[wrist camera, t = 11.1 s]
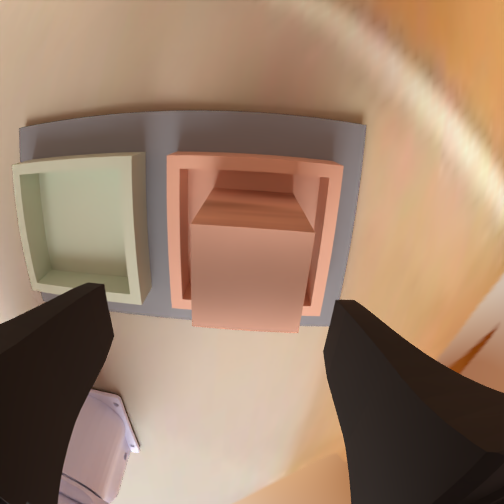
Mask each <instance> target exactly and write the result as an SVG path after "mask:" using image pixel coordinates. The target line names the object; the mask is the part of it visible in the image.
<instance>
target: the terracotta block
mask: <svg viewBox="0 0 504 504" xmlns="http://www.w3.org/2000/svg"><path fill="white" fill-rule="evenodd" d="M314 237H315V232H314V230H313V228H312V226H311V224H310V222H309V221H308V219H307V217H306V215H305V214H304V212H303V210H302V208H301V206H300V205H299V203H298V201H297V199H296V198H295V196H294V194H293V193H281V192H269V191H256V190H242V189H226V188H213V189H212V191H211V192H210V194H209V196H208V197H207V199H206V200H205V202H204V203H203V205H202V207H201V208H200V210H199V211H198V213H197V215H196V216H195V218H194V219H193V221H192V223H191V306H192V326H196V327H207V328H219V329H232V330H247V331H264V332H285V333H298V331H299V326H300V321H301V315H302V310H303V304H304V299H305V293H306V287H307V281H308V275H309V269H310V263H311V257H312V250H313V244H314Z"/></svg>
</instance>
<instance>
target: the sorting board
mask: <svg viewBox="0 0 504 504" xmlns="http://www.w3.org/2000/svg"><path fill="white" fill-rule="evenodd" d="M365 134H366V125H362V124H356V123H350V122H343V121H336V120H329V119H322V118H314V117H305V116H296V115H285V114H274V113H260V112H242V111H204V110H190V111H153V112H135V113H121V114H110V115H100V116H91V117H83V118H75V119H68V120H61V121H55V122H49V123H43V124H38V125H32V126H27V127H22V128H19V140H20V163H17V164H14V165H12V174H13V186H14V196H15V204H16V212H17V219H18V225H19V231H20V237H21V242H22V248H23V253H24V257H25V262H26V266H27V271H28V275H29V279H30V283H31V287H32V290H33V291H39V292H41V295H42V298H43V301H46V302H47V301H49V300H51V299H53V298H55V297H57V296H59V295H61V294H63V293H65V292H67V291H69V290H71V289H73V288H75V287H77V286H80V285H82V284H85V283H88V282H90V283H99V284H104V285H105V291H106V297H107V303H108V308H109V311H112V312H120V313H128V314H137V315H146V316H155V317H165V318H175V319H186V320H192V306H191V223H192V221H193V219H194V218H195V216H196V215H197V213H198V211H199V210H200V208H201V207H202V205H203V203H204V202H205V200H206V199H207V197H208V196H209V194H210V192H211V191H212V189H213V188H226V189H242V190H256V191H269V192H281V193H293V194H294V196H295V198H296V199H297V201H298V203H299V205H300V206H301V208H302V210H303V212H304V214H305V215H306V217H307V219H308V221H309V222H310V224H311V226H312V228H313V230H314V232H315V237H314V244H313V250H312V257H311V263H310V269H309V275H308V281H307V287H306V293H305V299H304V304H303V310H302V315H301V321H300V326H330V322H331V318H332V313H333V309H334V304H335V300H339V299H340V294H341V290H342V285H343V280H344V275H345V270H346V265H347V260H348V255H349V249H350V244H351V238H352V232H353V226H354V220H355V214H356V207H357V200H358V193H359V186H360V179H361V171H362V162H363V153H364V144H365Z"/></svg>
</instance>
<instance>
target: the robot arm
mask: <svg viewBox="0 0 504 504" xmlns="http://www.w3.org/2000/svg"><path fill="white" fill-rule="evenodd" d="M113 338H114V333H113V328H112V323H111V318H110V313H109V308H108V303H107V297H106V291H105V285H104V284H99V283H90V282H88V283H85V284H82V285H80V286H77V287H75V288H73V289H71V290H69V291H67V292H65V293H63V294H61V295H59V296H57V297H55V298H53V299H51V300H49V301H47V302H45V303H44V304H42V305H40V306H38V307H36V308H34V309H32V310H30V311H28V312H25V313H23V314H21V315H19V316H17V317H15V318H13V319H11V320H9V321H7V322H4V323H2V324H0V504H109V503H111V502H112V501H113V500H114V499H115V498H116V497H117V495H118V493H119V490H120V486H121V482H122V479H123V475H124V472H125V469H126V465H127V462H128V458H129V455H130V452H135V453H139V452H140V448H139V445H138V443H137V440H136V438H135V435H134V433H133V430H132V427H131V425H130V422H129V419H128V417H127V414H126V411H125V408H124V405H123V403H122V400H121V398H120V397H119V396H118V395H115V394H111V393H106V392H101V391H97V390H93V389H91V388H92V386H93V384H94V382H95V380H96V378H97V376H98V374H99V372H100V370H101V369H102V367H103V365H104V362H105V360H106V358H107V355H108V352H109V350H110V347H111V344H112V341H113ZM323 353H324V360H325V368H326V374H327V380H328V383H329V387H330V390H331V394H332V398H333V401H334V405H335V408H336V412H337V415H338V419H339V422H340V426H341V430H342V433H343V438H344V442H345V447H346V454H347V462H348V470H349V479H350V490H351V504H504V393H502V392H499V391H496V390H494V389H491V388H489V387H486V386H483V385H481V384H479V383H477V382H475V381H473V380H471V379H469V378H466V377H464V376H462V375H460V374H459V373H457V372H455V371H453V370H451V369H449V368H448V367H446V366H444V365H443V364H441V363H439V362H437V361H436V360H434V359H433V358H431V357H429V356H428V355H426V354H425V353H423V352H422V351H421V350H419V349H418V348H416V347H415V346H414V345H412V344H411V343H409V342H408V341H407V340H405V339H404V338H403V337H401V336H400V335H399V334H397V333H396V332H395V331H394V330H392V329H391V328H390V327H388V326H387V325H386V324H385V323H384V322H382V321H381V320H380V319H379V318H377V317H376V316H375V315H374V314H372V313H371V312H370V311H369V310H367V309H366V308H365V307H363V306H362V305H361V304H359V303H358V302H356V301H355V300H335V304H334V309H333V313H332V318H331V322H330V326H329V330H328V334H327V339H326V343H325V347H324V351H323Z"/></svg>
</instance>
